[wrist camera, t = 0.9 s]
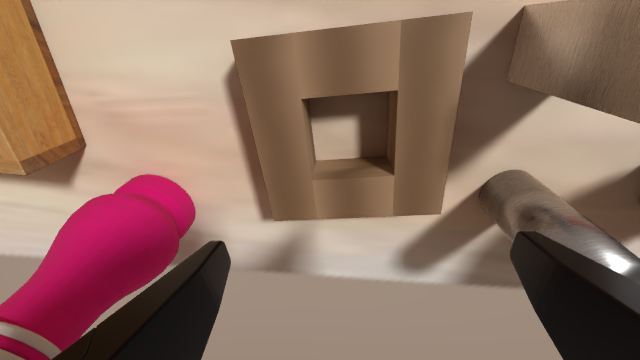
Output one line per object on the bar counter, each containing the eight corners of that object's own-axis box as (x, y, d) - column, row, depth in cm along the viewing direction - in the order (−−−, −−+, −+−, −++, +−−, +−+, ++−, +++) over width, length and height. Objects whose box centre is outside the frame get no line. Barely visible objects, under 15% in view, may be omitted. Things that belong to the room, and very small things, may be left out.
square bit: (604, -4, 14) (928, -43, 6) (576, 74, 16) (796, 118, 8) (524, 5, 15) (736, -21, 7) (506, 81, 17) (654, 128, 9)
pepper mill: (217, 220, 24) (-99, 719, 7) (161, 243, 26) (-195, 672, 9) (162, 155, 21) (-691, 764, 4) (102, 187, 23) (-628, 677, 6)
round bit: (542, 168, 19) (678, 262, 12) (526, 211, 21) (634, 317, 14) (485, 171, 20) (579, 264, 12) (475, 213, 22) (550, 317, 14)
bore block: (449, 14, 15) (472, 11, 12) (428, 191, 21) (440, 214, 18) (247, 38, 16) (230, 40, 14) (281, 198, 22) (273, 220, 20)
